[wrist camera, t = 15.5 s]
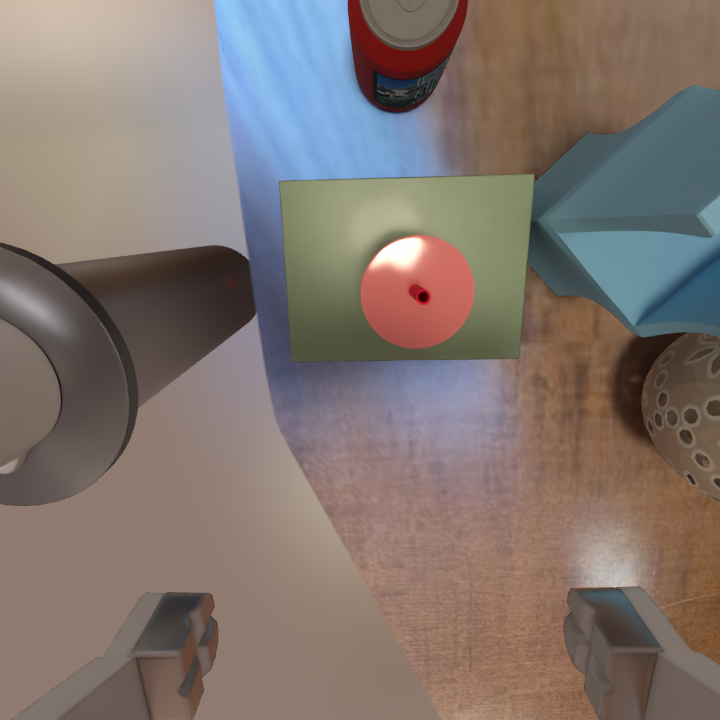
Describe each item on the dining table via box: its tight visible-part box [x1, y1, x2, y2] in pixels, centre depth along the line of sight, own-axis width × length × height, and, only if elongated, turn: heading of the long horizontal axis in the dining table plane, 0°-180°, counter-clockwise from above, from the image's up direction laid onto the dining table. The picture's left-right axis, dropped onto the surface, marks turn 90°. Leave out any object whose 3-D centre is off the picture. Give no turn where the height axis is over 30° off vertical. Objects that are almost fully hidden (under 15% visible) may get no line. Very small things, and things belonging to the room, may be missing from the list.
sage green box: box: [279, 174, 535, 362], centre depth 34 cm, size 16×12×10 cm
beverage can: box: [348, 0, 468, 112], centre depth 29 cm, size 7×7×12 cm
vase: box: [527, 85, 720, 337], centre depth 26 cm, size 10×10×25 cm
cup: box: [361, 235, 475, 349], centre depth 24 cm, size 5×5×12 cm
